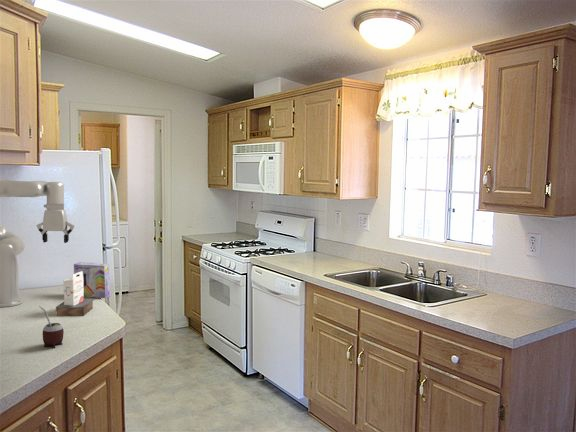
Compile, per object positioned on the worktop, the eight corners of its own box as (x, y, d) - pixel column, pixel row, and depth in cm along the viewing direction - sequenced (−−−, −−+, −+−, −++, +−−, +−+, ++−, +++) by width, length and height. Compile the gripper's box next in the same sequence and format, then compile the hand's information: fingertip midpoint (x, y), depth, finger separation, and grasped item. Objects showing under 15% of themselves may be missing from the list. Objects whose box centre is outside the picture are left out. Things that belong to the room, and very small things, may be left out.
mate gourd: (64, 347, 176) (64, 307, 175) (41, 350, 172) (40, 310, 170) (62, 340, 182) (61, 302, 181) (39, 344, 178) (38, 305, 176)
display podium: (55, 315, 212) (55, 307, 212) (66, 307, 225) (66, 299, 224) (84, 316, 213) (84, 307, 213) (93, 308, 226) (93, 300, 225)
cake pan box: (72, 296, 246) (72, 262, 244) (78, 293, 251) (78, 261, 249) (104, 299, 242) (104, 265, 240) (110, 297, 247) (110, 263, 245)
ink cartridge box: (74, 300, 223) (74, 270, 222) (84, 301, 223) (83, 270, 221) (63, 305, 215) (63, 273, 213) (73, 306, 214) (73, 274, 213)
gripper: (33, 207, 223) (33, 243, 225) (70, 208, 224) (71, 243, 226) (40, 206, 231) (40, 240, 232) (76, 207, 232) (76, 241, 233)
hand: (55, 242), depth 229 cm, fingers open, 9 cm apart
